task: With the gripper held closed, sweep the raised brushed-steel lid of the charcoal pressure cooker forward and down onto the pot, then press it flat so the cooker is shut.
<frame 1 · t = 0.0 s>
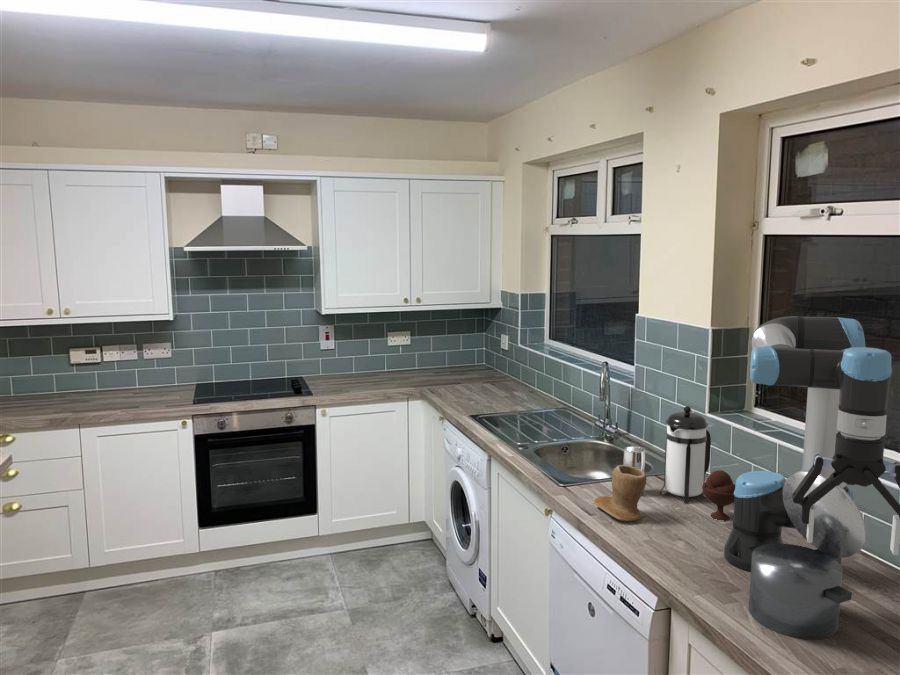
hand: (850, 546, 126), 28 cm above the worktop, tool pointing down, fingers open, 13 cm apart
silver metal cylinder: (633, 493, 227), on the worktop
pot lid: (824, 512, 153), point 23 cm above the worktop, hinge at 75.0°
ice cream bowl: (719, 518, 207), on the worktop
pressure cooker pot: (792, 615, 154), on the worktop
coffee press: (684, 494, 226), on the worktop
tan flared hollow piece: (621, 514, 210), on the worktop
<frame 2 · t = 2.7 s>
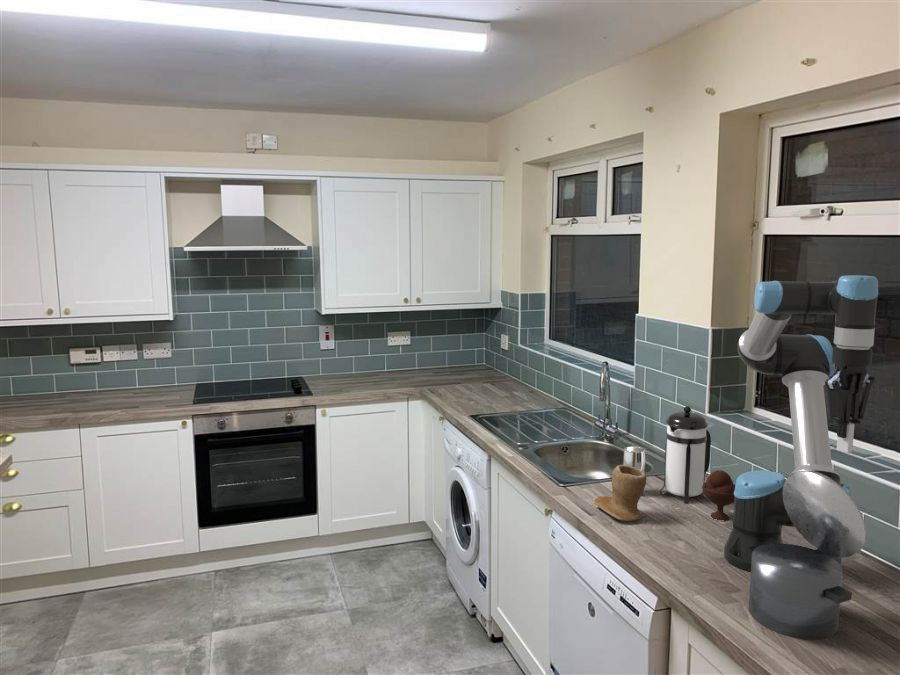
hand: (844, 450, 153), 37 cm above the worktop, tool pointing down, fingers closed
nothing on the worktop moved.
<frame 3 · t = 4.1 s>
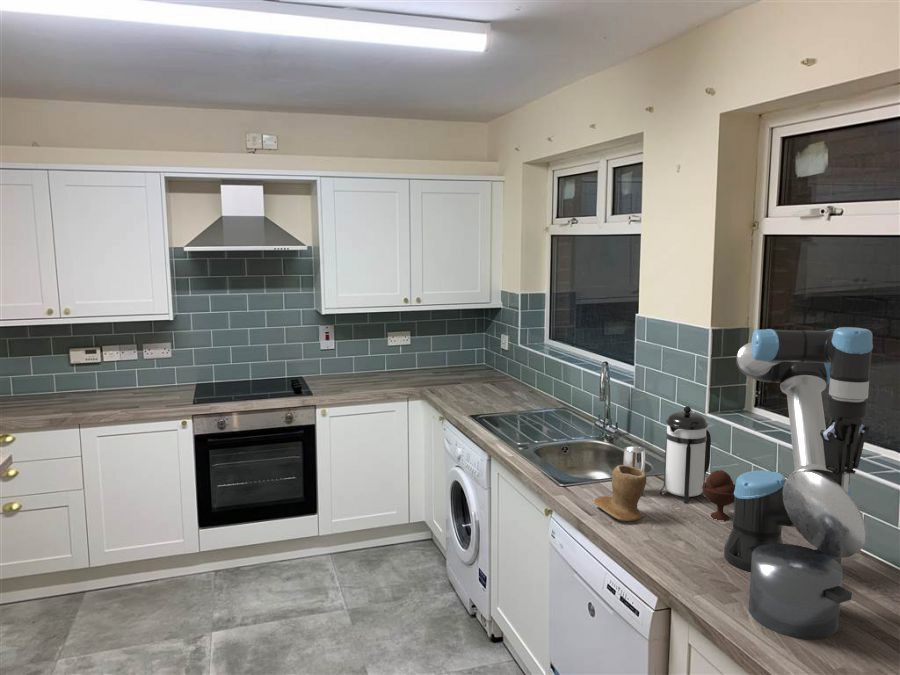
hand: (839, 499, 155), 25 cm above the worktop, tool pointing down, fingers closed
nothing on the worktop moved.
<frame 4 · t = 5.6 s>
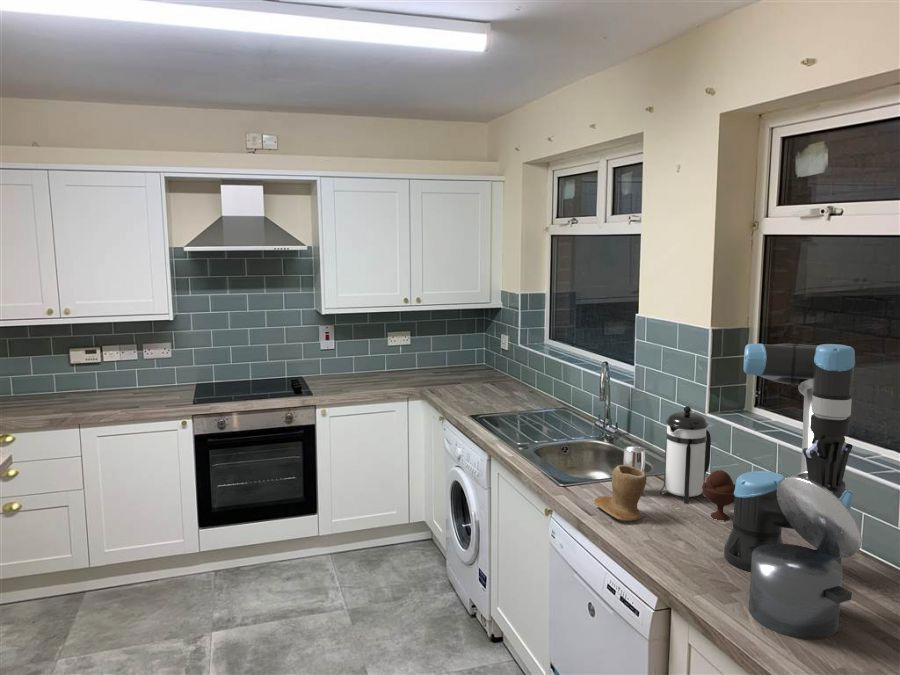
hand: (822, 518, 153), 22 cm above the worktop, tool pointing down, fingers closed
pot lid: (819, 514, 153), point 23 cm above the worktop, hinge at 65.6°, touching gripper
everything else where it was.
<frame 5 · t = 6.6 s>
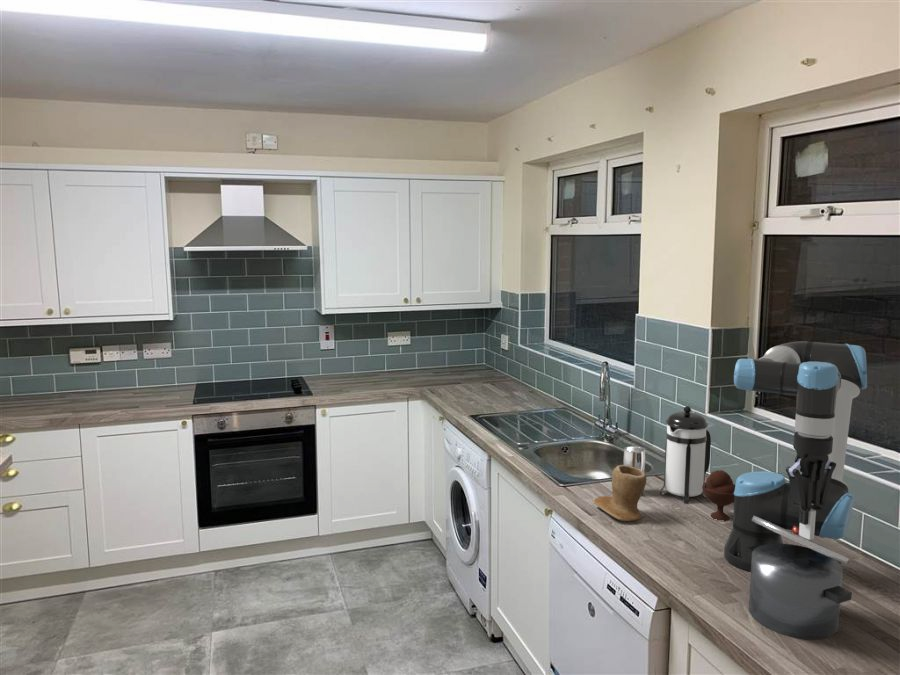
hand: (806, 536, 152), 18 cm above the worktop, tool pointing down, fingers closed
pot lid: (800, 535, 151), point 19 cm above the worktop, hinge at 26.5°, touching gripper
everything else where it was.
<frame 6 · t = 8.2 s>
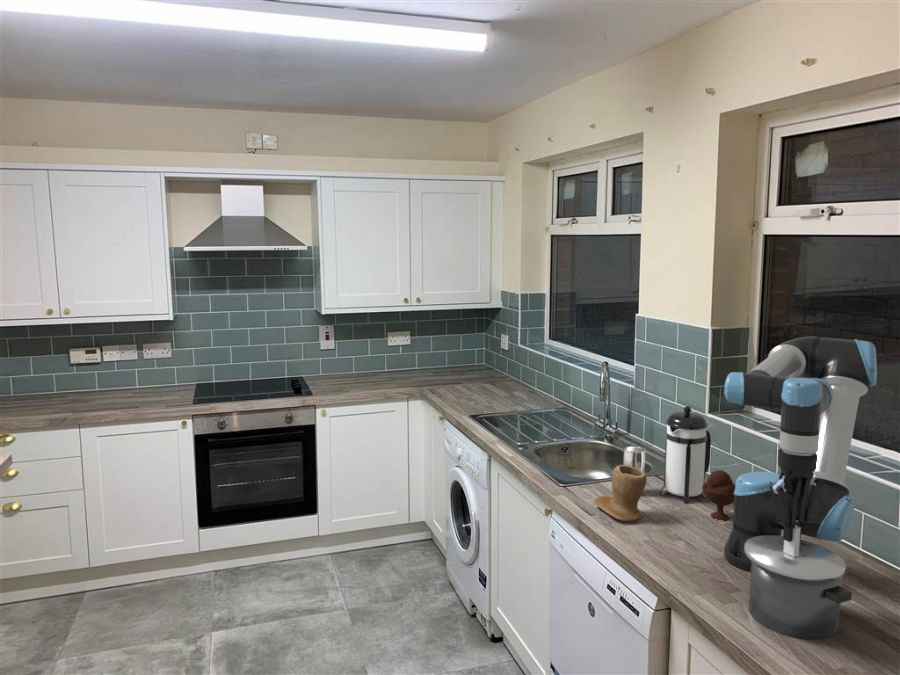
hand: (790, 553, 151), 15 cm above the worktop, tool pointing down, fingers closed
pot lid: (793, 553, 151), point 15 cm above the worktop, hinge at 2.9°, touching gripper
everything else where it was.
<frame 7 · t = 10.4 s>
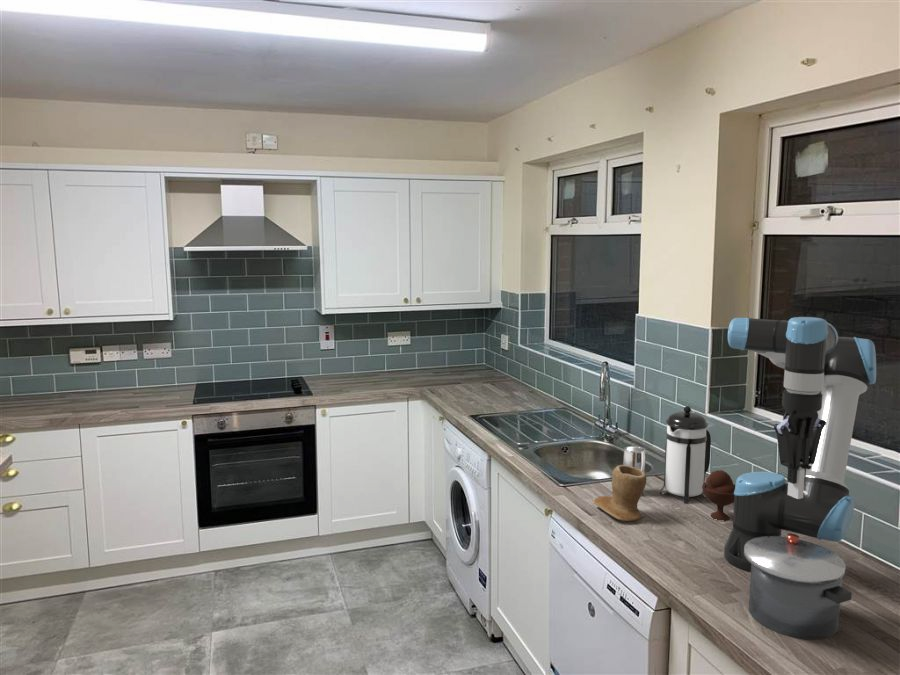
hand: (795, 496, 149), 28 cm above the worktop, tool pointing down, fingers closed
pot lid: (793, 554, 151), point 15 cm above the worktop, hinge at 1.0°
everything else where it was.
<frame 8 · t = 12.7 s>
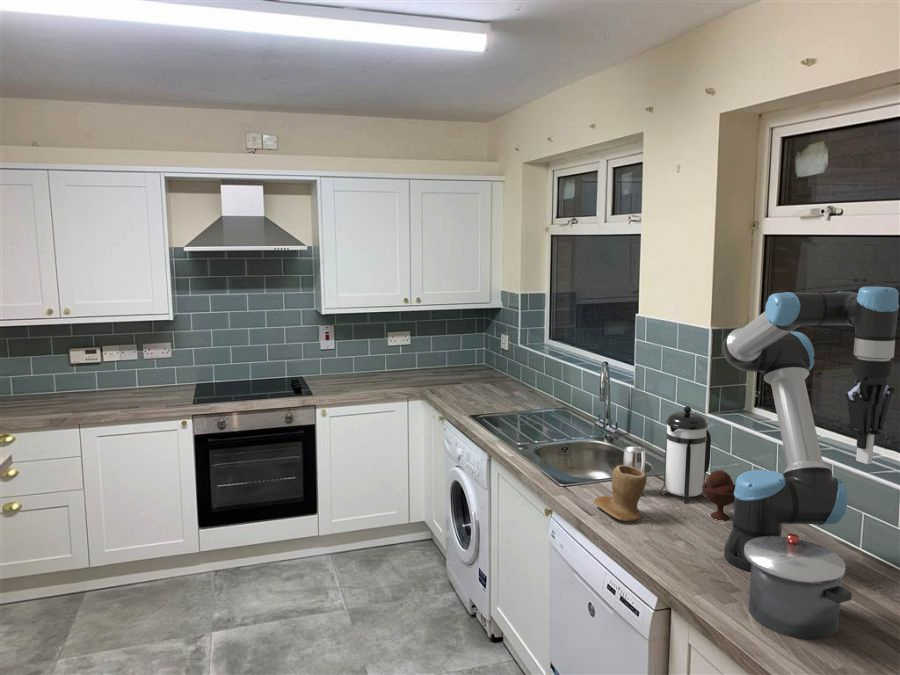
hand: (863, 461, 153), 34 cm above the worktop, tool pointing down, fingers closed
nothing on the worktop moved.
at the end: pot lid at +1° (first picture: +75°) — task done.
